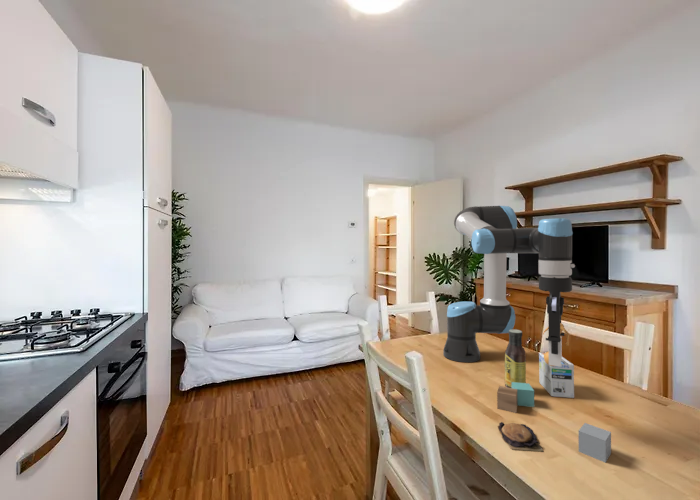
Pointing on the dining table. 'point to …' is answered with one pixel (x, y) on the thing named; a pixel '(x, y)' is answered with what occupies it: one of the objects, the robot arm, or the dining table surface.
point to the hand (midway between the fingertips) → (555, 362)
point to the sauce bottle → (515, 359)
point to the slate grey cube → (595, 442)
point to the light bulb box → (557, 377)
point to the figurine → (546, 355)
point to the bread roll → (519, 437)
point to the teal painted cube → (524, 394)
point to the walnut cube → (507, 399)
